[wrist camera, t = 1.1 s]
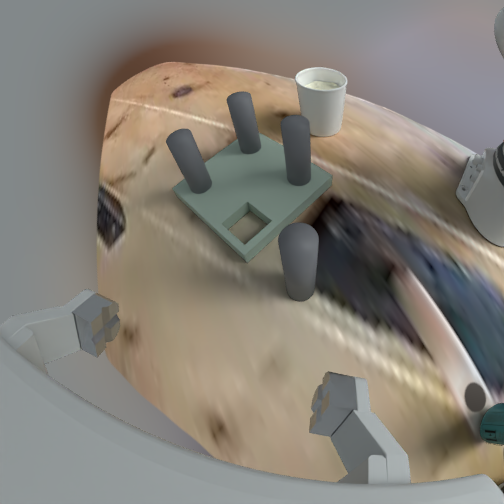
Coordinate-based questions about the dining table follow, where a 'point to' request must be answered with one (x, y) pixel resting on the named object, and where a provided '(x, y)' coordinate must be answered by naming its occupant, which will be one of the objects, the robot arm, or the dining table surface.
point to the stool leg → (299, 259)
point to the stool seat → (249, 176)
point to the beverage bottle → (493, 425)
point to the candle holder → (322, 99)
